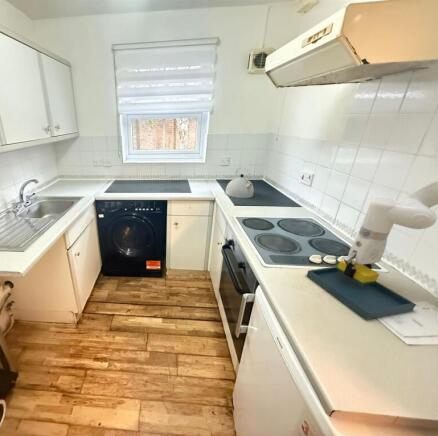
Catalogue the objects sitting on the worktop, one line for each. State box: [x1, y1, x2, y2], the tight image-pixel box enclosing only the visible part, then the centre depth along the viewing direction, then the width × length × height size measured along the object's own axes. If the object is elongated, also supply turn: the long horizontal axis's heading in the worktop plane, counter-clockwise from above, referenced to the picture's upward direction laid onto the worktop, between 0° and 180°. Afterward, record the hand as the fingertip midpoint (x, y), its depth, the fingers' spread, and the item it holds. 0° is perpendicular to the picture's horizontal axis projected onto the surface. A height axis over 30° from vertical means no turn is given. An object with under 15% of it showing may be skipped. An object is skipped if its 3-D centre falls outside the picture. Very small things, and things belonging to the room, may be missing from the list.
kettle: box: [224, 166, 255, 199], centre depth 198 cm, size 25×23×22 cm
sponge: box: [337, 259, 380, 285], centre depth 91 cm, size 10×6×4 cm, turn 12°
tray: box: [306, 265, 417, 321], centre depth 88 cm, size 20×24×3 cm
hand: (355, 274), depth 91 cm, fingers closed on sponge, 6 cm apart
